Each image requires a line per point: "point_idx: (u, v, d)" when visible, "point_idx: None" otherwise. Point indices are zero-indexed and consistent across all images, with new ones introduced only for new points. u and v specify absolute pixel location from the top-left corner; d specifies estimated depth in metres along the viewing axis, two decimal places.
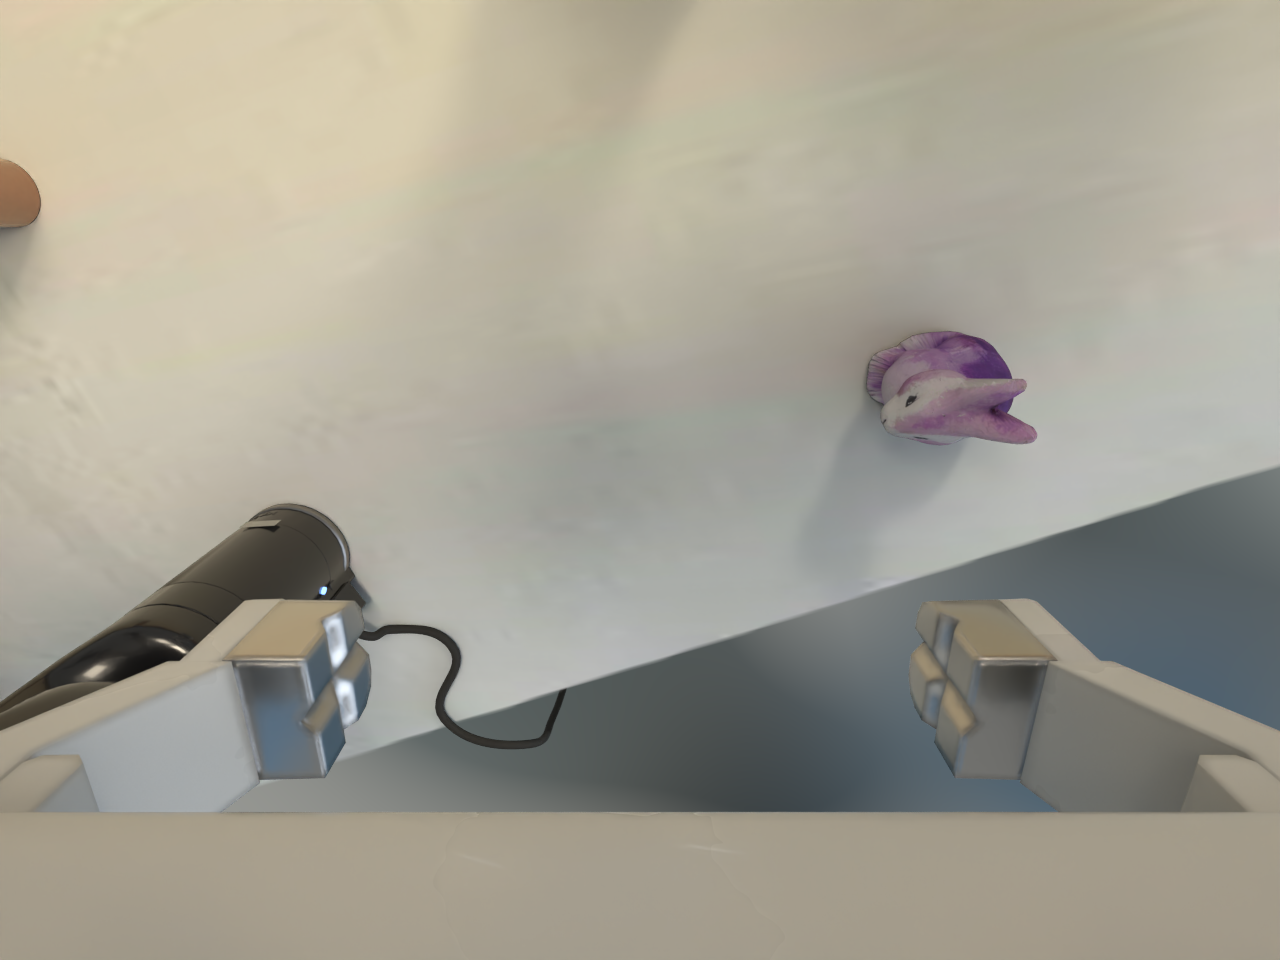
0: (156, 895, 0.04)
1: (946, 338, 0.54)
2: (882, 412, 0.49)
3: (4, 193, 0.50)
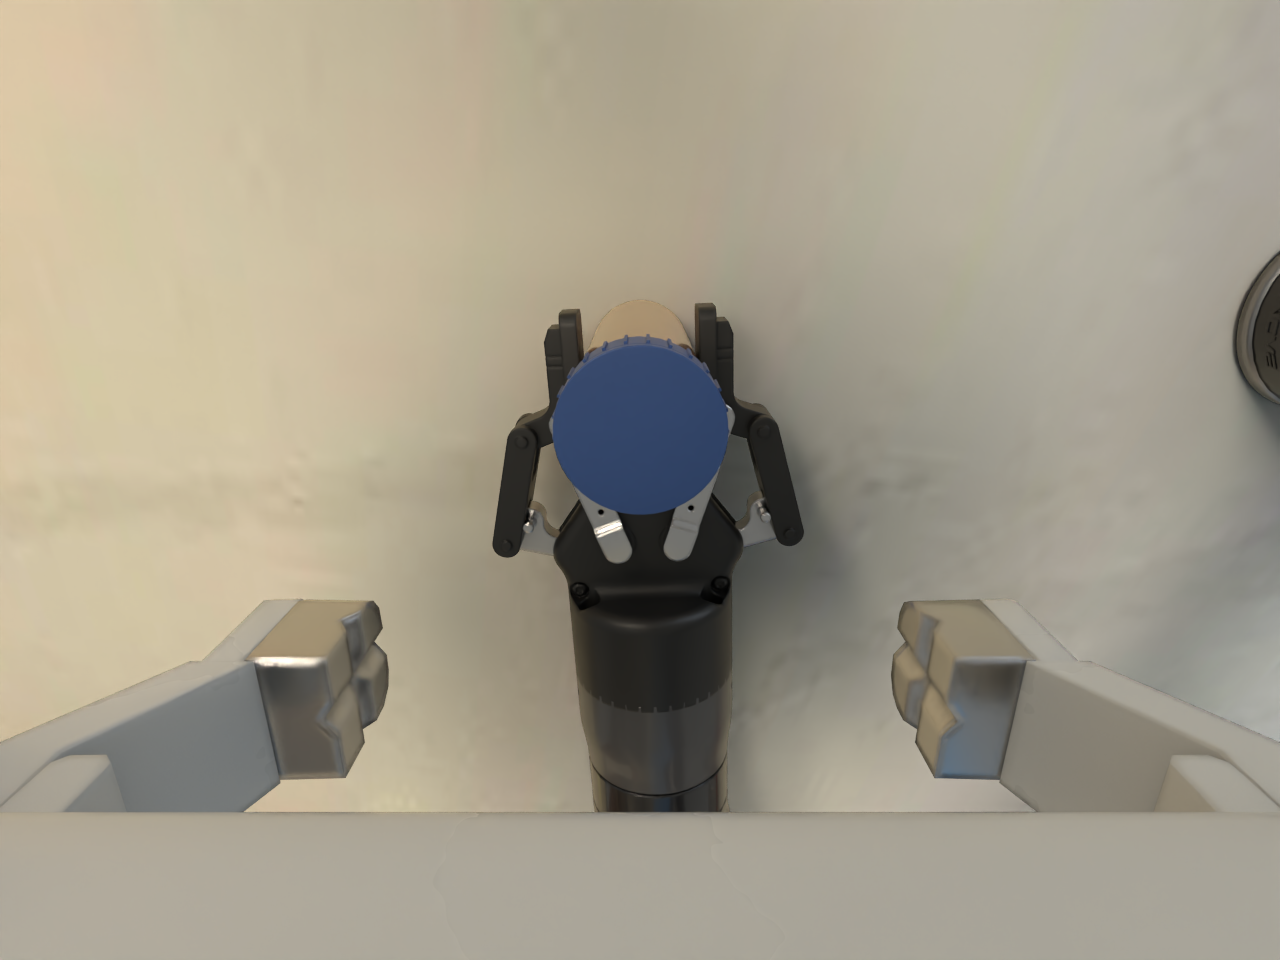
0: (156, 895, 0.04)
1: None
2: None
3: (666, 313, 0.32)
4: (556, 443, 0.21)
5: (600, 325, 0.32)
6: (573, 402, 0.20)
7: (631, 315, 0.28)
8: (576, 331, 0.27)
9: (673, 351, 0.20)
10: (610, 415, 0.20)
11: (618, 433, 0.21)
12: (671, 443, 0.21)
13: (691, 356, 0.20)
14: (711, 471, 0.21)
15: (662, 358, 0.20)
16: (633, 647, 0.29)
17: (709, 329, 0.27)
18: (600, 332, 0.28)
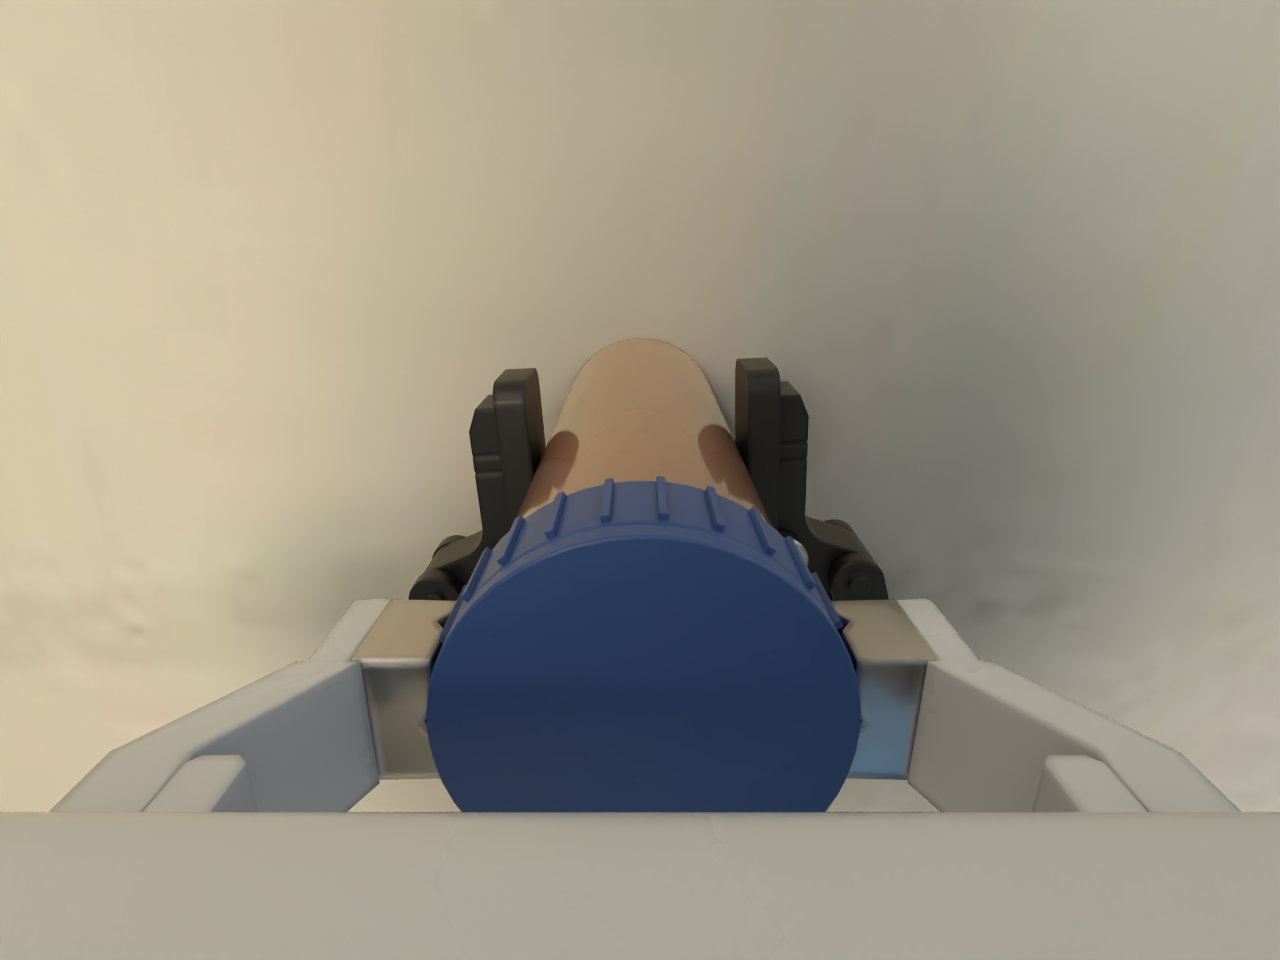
0: (155, 896, 0.04)
1: None
2: None
3: (683, 366, 0.19)
4: (437, 755, 0.08)
5: (575, 386, 0.19)
6: (474, 667, 0.08)
7: (625, 380, 0.16)
8: (525, 414, 0.15)
9: (730, 549, 0.08)
10: (569, 695, 0.08)
11: (589, 733, 0.08)
12: (719, 754, 0.08)
13: (772, 550, 0.08)
14: (814, 811, 0.09)
15: (701, 567, 0.08)
16: None
17: (767, 410, 0.15)
18: (570, 412, 0.16)
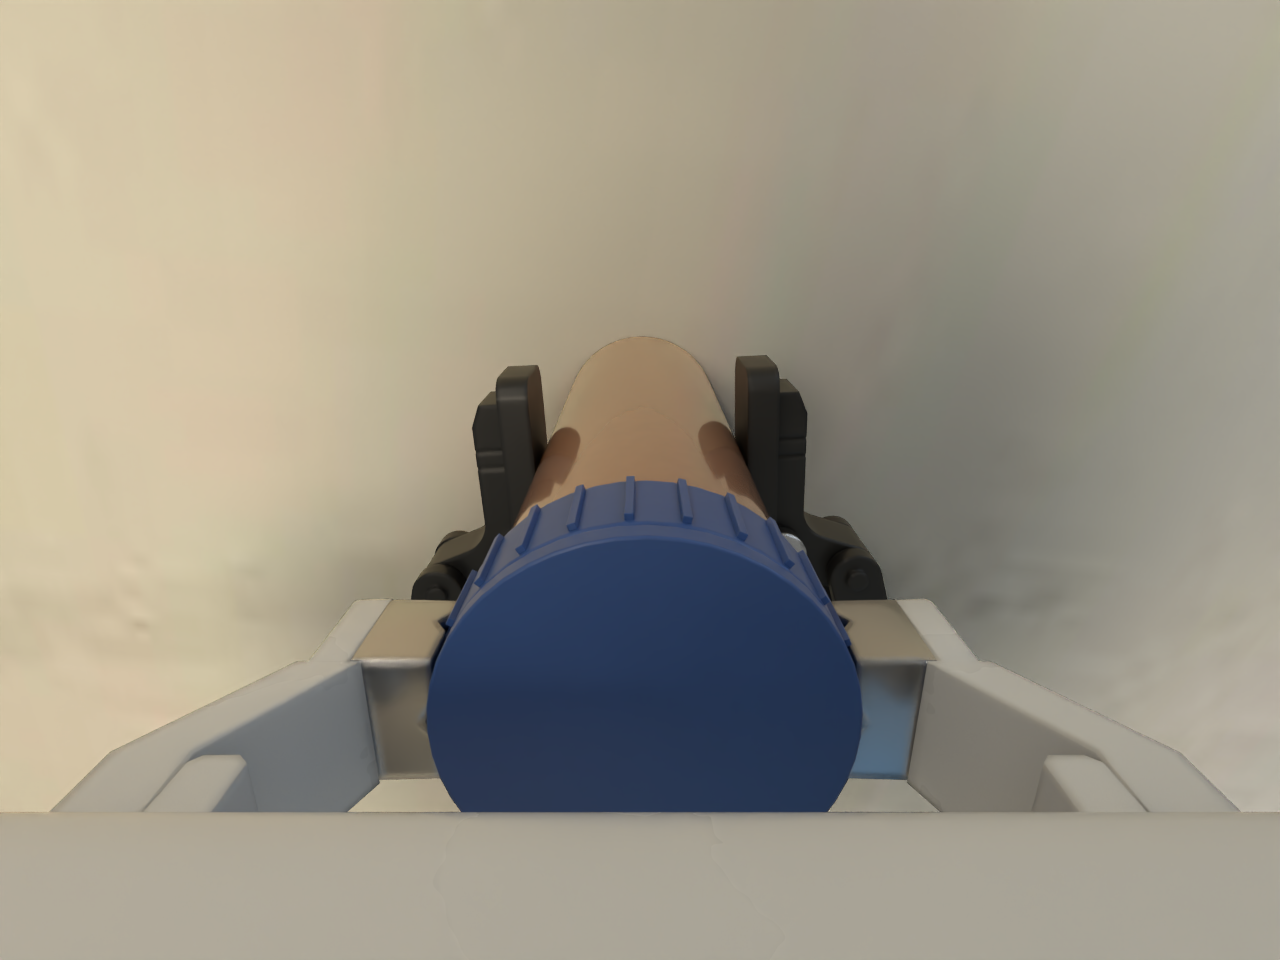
0: (156, 895, 0.04)
1: None
2: None
3: (683, 363, 0.19)
4: None
5: (577, 383, 0.19)
6: None
7: (626, 377, 0.16)
8: (527, 411, 0.15)
9: (431, 680, 0.08)
10: (605, 794, 0.09)
11: (647, 778, 0.09)
12: (663, 668, 0.08)
13: (449, 620, 0.08)
14: (734, 568, 0.08)
15: (450, 705, 0.08)
16: None
17: (766, 407, 0.15)
18: (572, 409, 0.16)
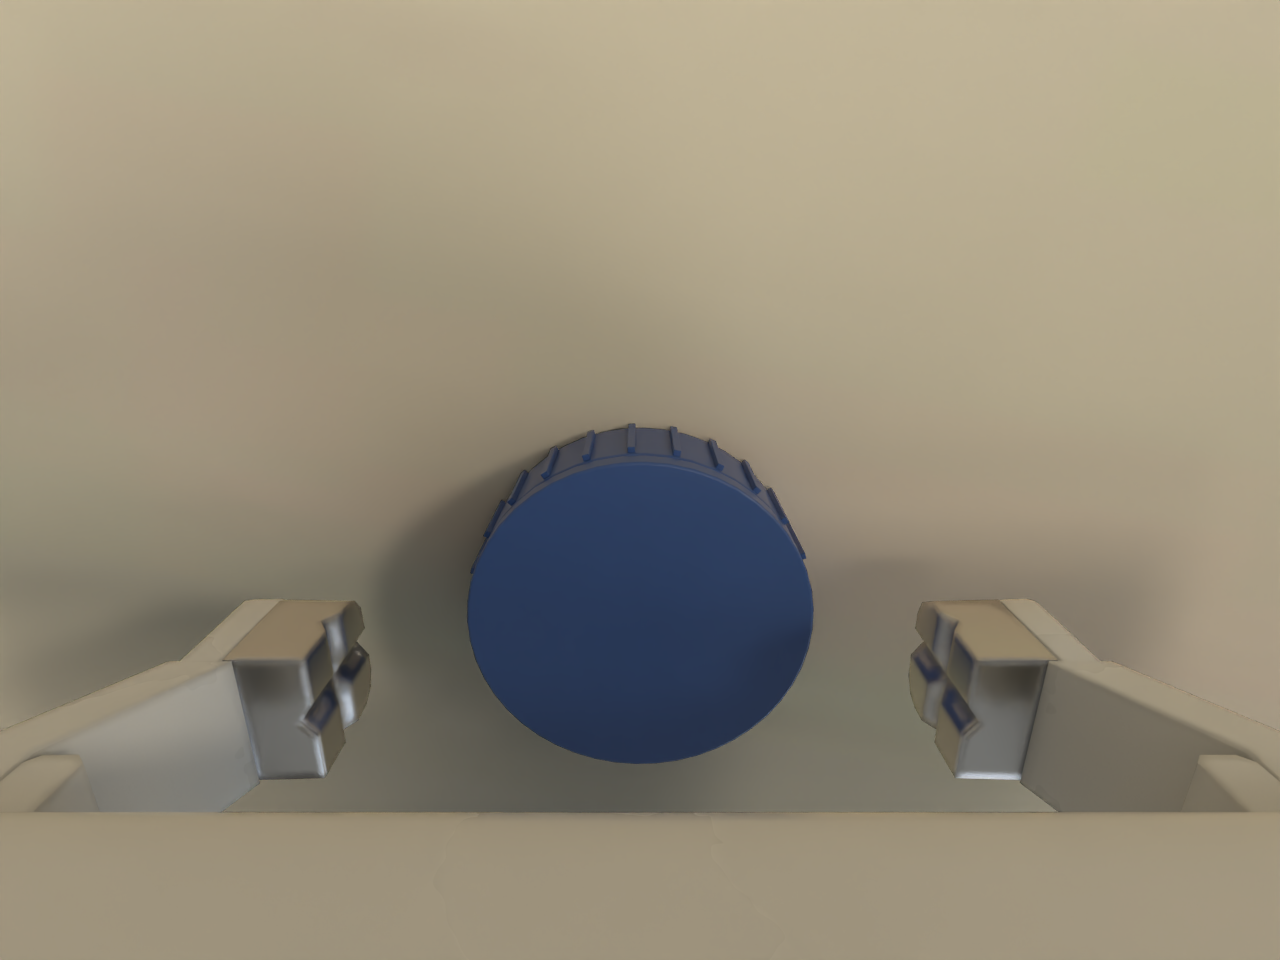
0: (156, 895, 0.04)
1: None
2: None
3: None
4: (669, 759, 0.11)
5: None
6: (589, 735, 0.11)
7: None
8: None
9: (472, 579, 0.10)
10: (607, 677, 0.11)
11: (642, 663, 0.11)
12: (655, 570, 0.10)
13: (486, 533, 0.10)
14: (713, 489, 0.10)
15: (487, 599, 0.10)
16: None
17: None
18: None
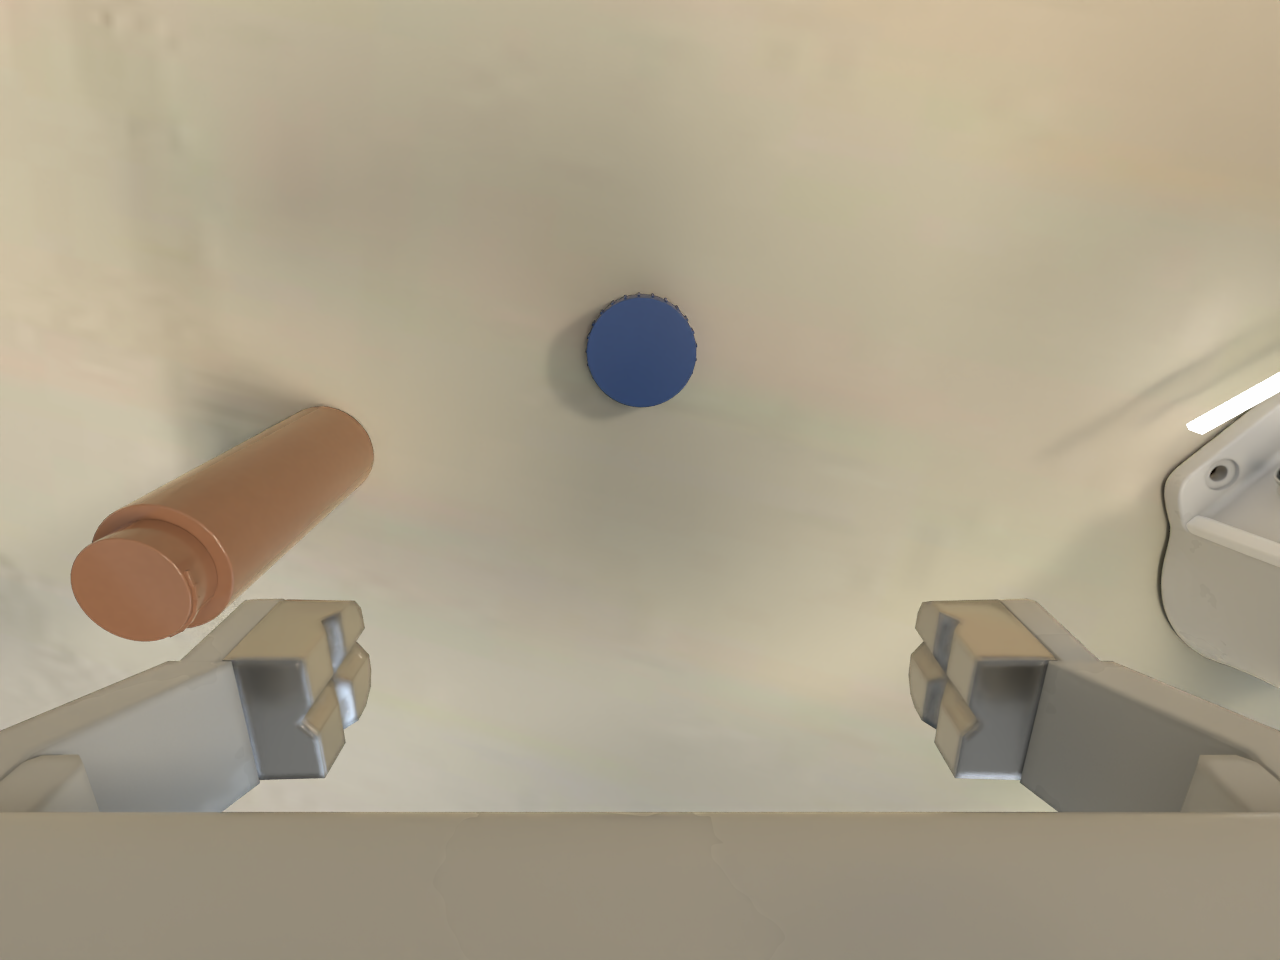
0: (156, 895, 0.04)
1: None
2: None
3: (345, 495, 0.34)
4: (650, 404, 0.34)
5: (329, 437, 0.33)
6: (624, 395, 0.34)
7: (320, 491, 0.31)
8: None
9: (589, 337, 0.33)
10: (630, 372, 0.33)
11: (642, 367, 0.33)
12: (646, 333, 0.33)
13: (592, 324, 0.33)
14: (663, 306, 0.32)
15: (593, 344, 0.33)
16: None
17: None
18: (297, 468, 0.29)
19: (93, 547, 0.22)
